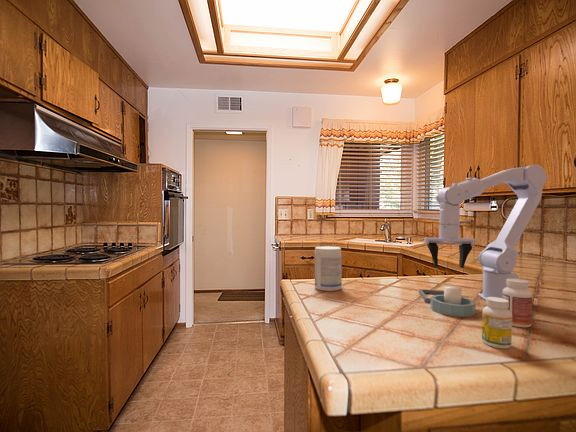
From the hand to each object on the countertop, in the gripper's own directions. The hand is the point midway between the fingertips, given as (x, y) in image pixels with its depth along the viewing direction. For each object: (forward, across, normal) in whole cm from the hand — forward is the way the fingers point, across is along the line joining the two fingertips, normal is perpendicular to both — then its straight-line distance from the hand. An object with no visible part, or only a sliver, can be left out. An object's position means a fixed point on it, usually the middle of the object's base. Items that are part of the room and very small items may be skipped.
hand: (448, 266), depth 103 cm
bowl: (+10, -2, -12) cm, 16 cm away
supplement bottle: (+10, +1, -35) cm, 36 cm away
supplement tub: (+10, -39, +4) cm, 40 cm away
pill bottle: (+11, +11, -20) cm, 25 cm away
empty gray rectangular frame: (+10, -2, 0) cm, 10 cm away
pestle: (+10, -2, -12) cm, 16 cm away
